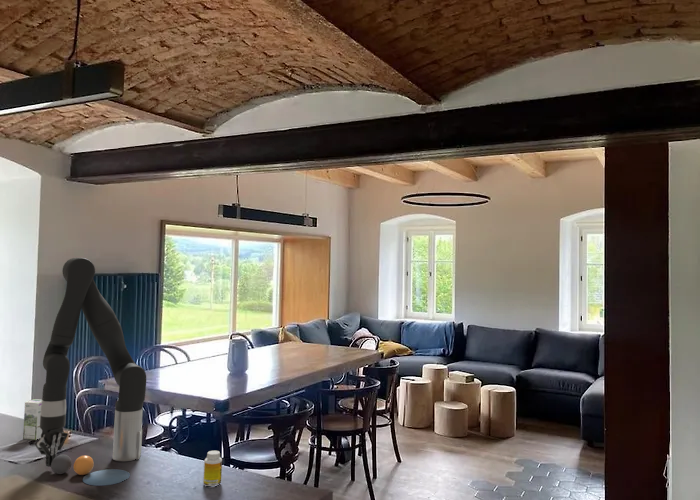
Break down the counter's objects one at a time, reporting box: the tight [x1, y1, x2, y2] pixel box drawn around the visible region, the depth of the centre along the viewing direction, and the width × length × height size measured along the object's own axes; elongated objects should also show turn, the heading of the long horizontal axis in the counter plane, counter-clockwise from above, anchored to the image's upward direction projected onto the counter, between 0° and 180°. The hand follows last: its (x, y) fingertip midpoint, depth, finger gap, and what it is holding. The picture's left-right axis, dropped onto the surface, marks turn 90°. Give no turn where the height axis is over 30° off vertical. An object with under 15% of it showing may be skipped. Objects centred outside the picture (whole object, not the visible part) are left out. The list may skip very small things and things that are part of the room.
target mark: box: [82, 468, 131, 487], centre depth 183 cm, size 14×14×1 cm
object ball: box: [73, 455, 95, 476], centre depth 184 cm, size 6×6×6 cm
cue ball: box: [51, 453, 73, 475], centre depth 185 cm, size 6×6×6 cm
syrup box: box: [22, 398, 42, 441], centre depth 221 cm, size 6×6×14 cm
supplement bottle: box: [202, 450, 223, 487], centre depth 180 cm, size 6×6×10 cm
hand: (50, 465), depth 187 cm, fingers closed
